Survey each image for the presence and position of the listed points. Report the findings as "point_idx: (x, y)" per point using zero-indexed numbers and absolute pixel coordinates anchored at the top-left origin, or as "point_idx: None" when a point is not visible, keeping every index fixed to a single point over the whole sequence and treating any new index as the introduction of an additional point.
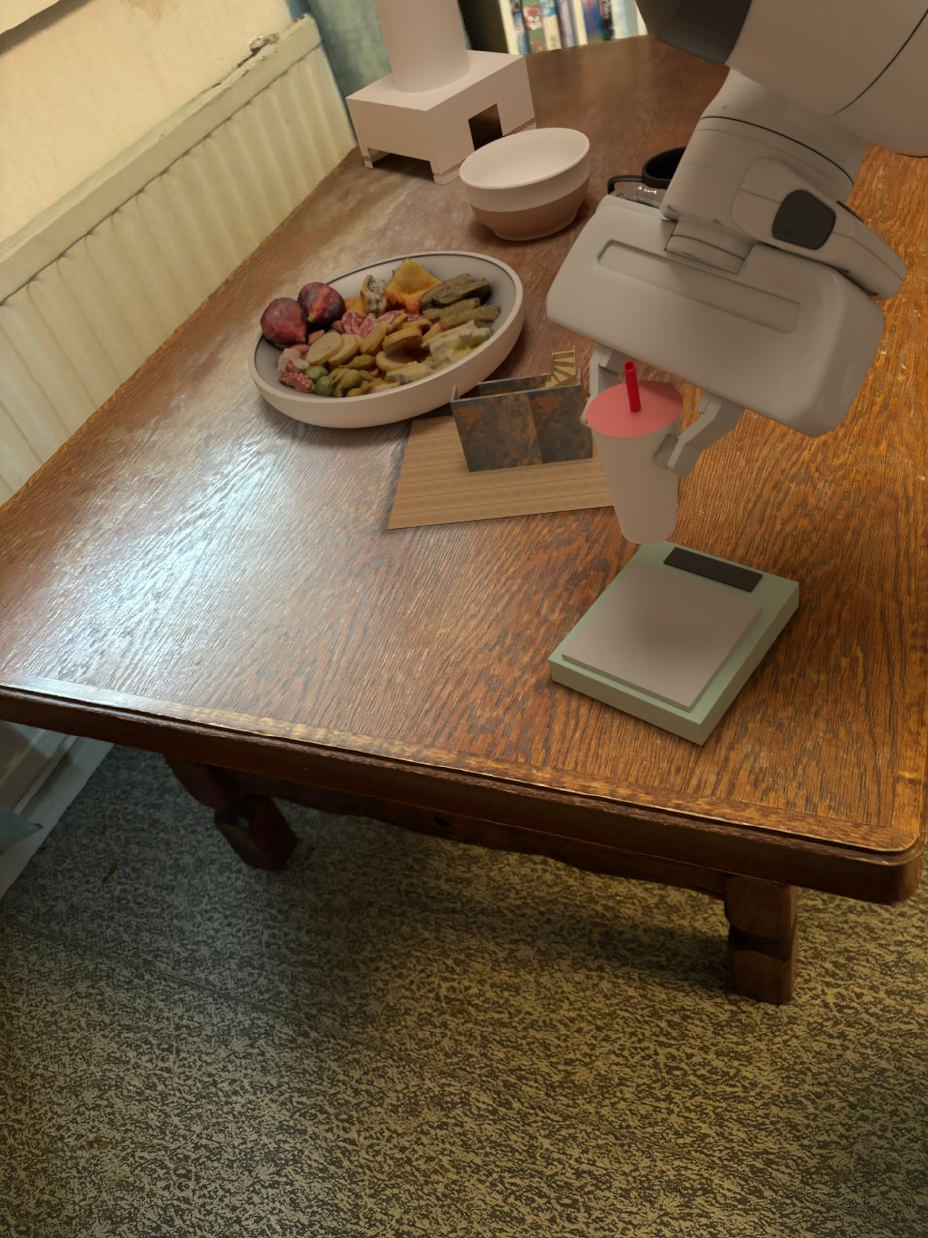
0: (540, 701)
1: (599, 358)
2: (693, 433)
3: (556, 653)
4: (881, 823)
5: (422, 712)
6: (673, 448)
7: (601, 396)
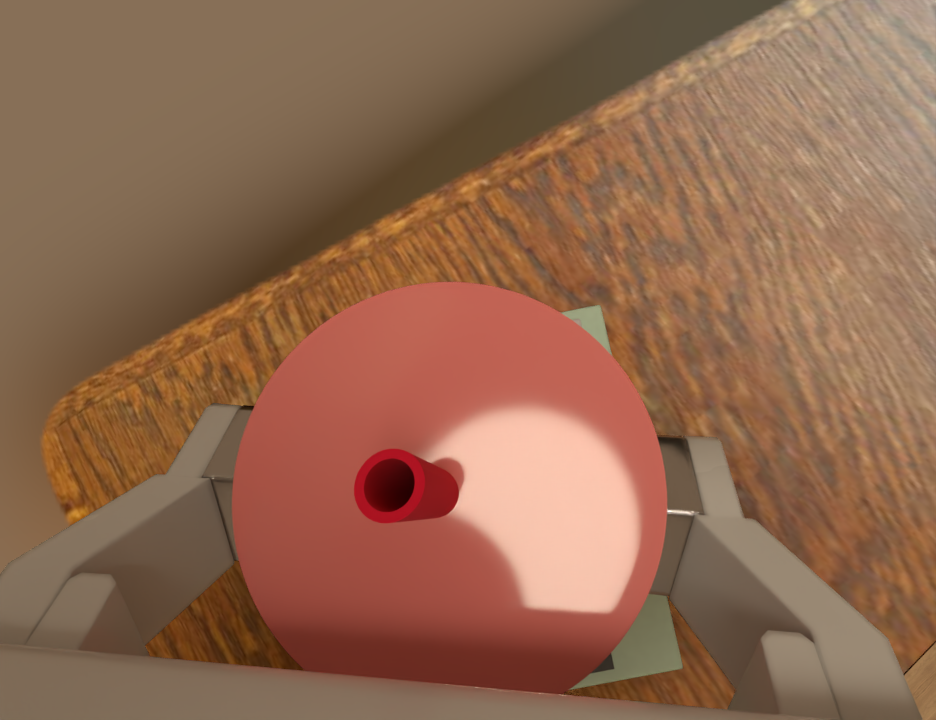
0: (575, 275)
1: (834, 663)
2: (127, 502)
3: (596, 323)
4: (65, 425)
5: (710, 138)
6: (221, 447)
7: (642, 484)
